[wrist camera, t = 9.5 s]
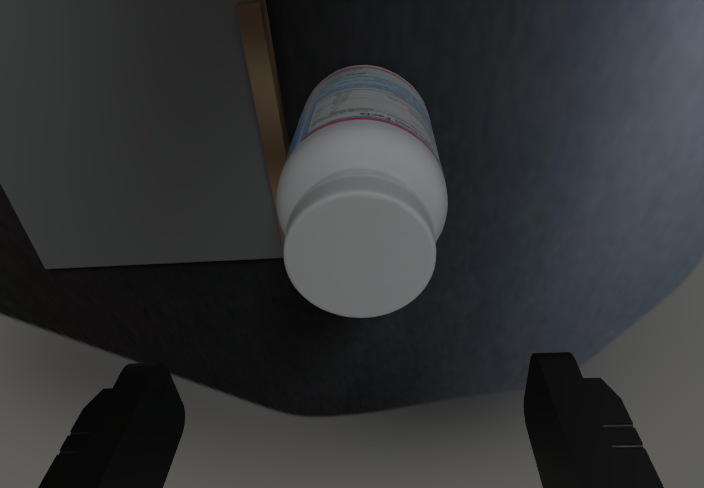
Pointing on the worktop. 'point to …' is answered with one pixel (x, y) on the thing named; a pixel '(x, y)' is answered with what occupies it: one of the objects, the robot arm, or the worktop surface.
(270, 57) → the bar
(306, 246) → the pill bottle
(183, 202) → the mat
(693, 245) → the worktop surface
